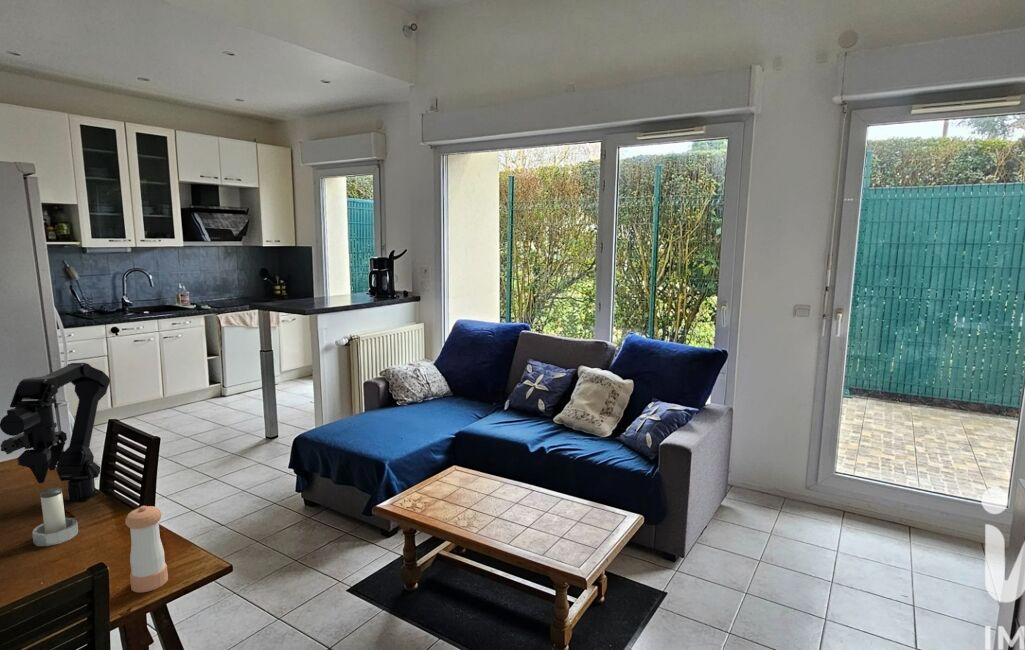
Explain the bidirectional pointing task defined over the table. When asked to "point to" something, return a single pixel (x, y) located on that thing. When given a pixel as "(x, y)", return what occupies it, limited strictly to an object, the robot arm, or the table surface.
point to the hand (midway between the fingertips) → (46, 476)
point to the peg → (53, 510)
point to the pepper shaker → (146, 550)
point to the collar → (55, 534)
